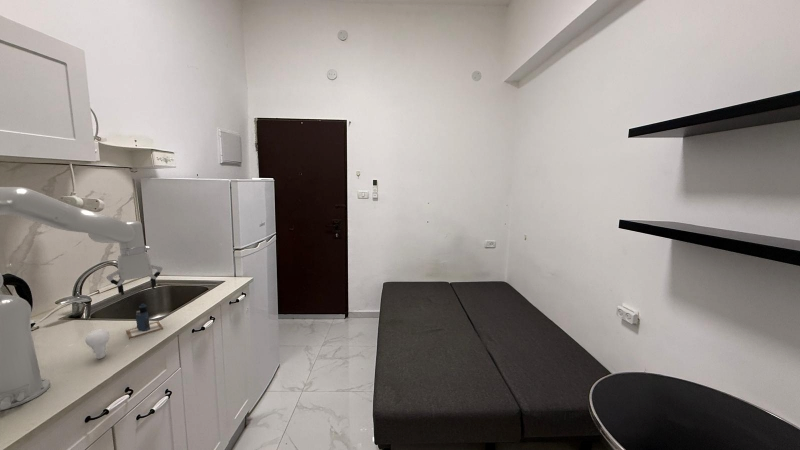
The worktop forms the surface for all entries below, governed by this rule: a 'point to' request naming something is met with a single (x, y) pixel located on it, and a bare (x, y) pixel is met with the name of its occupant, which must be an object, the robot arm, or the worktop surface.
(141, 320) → the vaping device
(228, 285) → the worktop surface
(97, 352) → the lightbulb
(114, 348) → the worktop surface
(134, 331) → the clipboard
